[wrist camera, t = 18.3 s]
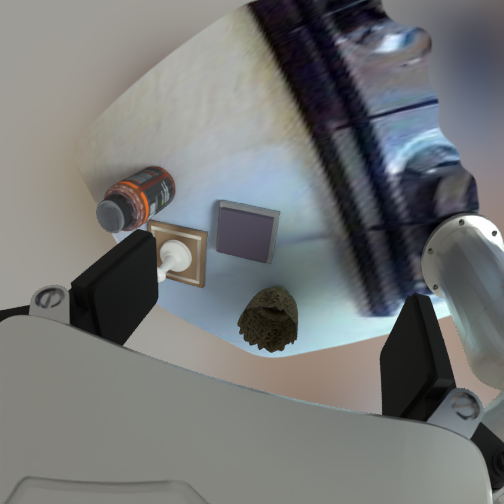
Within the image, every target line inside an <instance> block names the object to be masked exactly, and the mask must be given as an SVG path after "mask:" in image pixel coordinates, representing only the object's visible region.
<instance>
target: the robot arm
mask: <svg viewBox="0 0 504 504" xmlns="http://www.w3.org/2000/svg"><path fill="white" fill-rule="evenodd" d="M459 220H461V221H459ZM430 248H431V249H430ZM429 249H430V250H429ZM421 269H422V274H423V277H424V280H425V282H426V284H427V286H428V287H429V289H430V290H431V291H432V292H433V293H435V294H436V295H437V296H439V297H441V298H443V299H445V300H446V303H447V305H448V308H449V310H450V313H451V316H452V318H453V321H454V324H455V326H456V329H457V331H458V335H459V337H460V340H461V343H462V346H463V349H464V352H465V355H466V358H467V361H468V364H469V367H470V369H471V370H472V372H473V374H474V375H475V376H476V377H477V378H478V379H479V380H480V381H481V382H483V383H484V384H486V385H488V386H490V387H493V388H495V389H499V390H502V391H501V393H500V394H499V395H498V396H497V397H496V398H495V399H493V400H492V401H491V402H490V403H489V404H487V405H486V406H485V408H483V406H482V402H481V401H480V399H479V398H478V397H477V396H476V395H475V394H474V393H473V392H472V391H470V390H468V389H465V388H457V387H456V383H455V379H454V375H453V371H452V368H451V364H450V360H449V357H448V353H447V349H446V346H445V342H444V339H443V337H442V333H441V330H440V327H439V323H438V320H437V317H436V314H435V311H434V308H433V305H432V302H431V299H430V297H429V296H426V295H421V294H417V293H414V294H413V295H412V296H408V297H407V299H406V301H405V303H404V305H403V307H402V310H401V312H400V314H399V316H398V318H397V320H396V322H395V325H394V327H393V329H392V331H391V333H390V335H389V337H388V339H387V341H386V343H385V345H384V347H383V349H382V351H381V354H380V371H381V391H382V415H379V414H372V413H366V412H360V411H355V410H349V409H343V408H338V407H332V406H327V405H322V404H316V403H312V402H307V401H303V400H298V399H294V398H289V397H285V396H281V395H277V394H272V393H268V392H264V391H261V390H257V389H253V388H249V387H245V386H241V385H238V384H234V383H231V382H227V381H224V380H221V379H217V378H214V377H210V376H207V375H204V374H201V373H198V372H194V371H191V370H188V369H185V368H182V367H179V366H176V365H173V364H170V363H167V362H164V361H162V360H159V359H156V358H153V357H150V356H147V355H145V354H142V353H140V352H137V351H134V350H132V349H129V348H126V347H124V346H123V345H124V343H125V342H126V341H127V339H128V338H129V337H130V335H131V334H132V333H133V332H134V331H135V329H136V328H137V327H138V325H139V324H140V323H141V321H142V320H143V319H144V318H145V317H146V315H147V314H148V313H149V311H150V310H151V309H152V308H153V306H154V305H155V304H156V302H157V300H158V274H157V242H156V238H155V237H153V234H152V233H151V232H148V231H144V230H140V229H137V230H135V231H134V232H133V233H131V234H130V235H129V236H127V237H126V238H125V239H124V240H122V241H121V242H120V243H119V244H117V245H116V246H115V247H114V248H112V249H111V250H110V251H109V252H107V253H106V254H105V255H104V256H102V257H101V258H100V259H99V260H98V261H96V262H95V263H94V264H93V265H91V266H90V267H89V268H88V269H87V270H86V271H84V272H83V273H82V274H81V275H80V276H78V277H77V278H76V279H75V280H74V281H73V282H71V286H72V288H71V289H70V290H69V291H68V290H67V289H66V288H64V287H63V286H59V285H50V286H45V287H43V288H41V289H40V290H38V291H36V293H34V295H33V296H32V299H31V303H30V305H27V306H22V307H17V308H11V309H6V310H0V504H504V243H503V238H502V236H501V233H500V231H499V230H498V228H497V227H496V226H495V224H494V223H493V222H492V221H491V220H489V219H488V218H486V217H485V216H483V215H480V214H477V213H460V214H457V215H454V216H452V217H450V218H448V219H446V220H445V221H443V222H442V223H441V224H440V225H438V226H437V227H436V228H435V230H434V231H433V232H432V233H431V235H430V236H429V238H428V239H427V241H426V244H425V246H424V248H423V252H422V256H421Z"/></svg>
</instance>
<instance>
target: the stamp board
mask: <svg viewBox="0 0 504 504" xmlns="http://www.w3.org/2000/svg"><path fill="white" fill-rule="evenodd" d="M148 232H151V233H152V234H153V237H155V238H156V242H157V267H158V268H159V267H160V266H161V265H162V263H163V262H162V260H161V258H160V249H161V247H162V246H163V244H164V243H165V242H166V241H168V240H177V241H180V242H182V243H183V244H185V245H186V246H187V248H188V249H189V251H190V253H191V256H192V261H191V264H190V266H189V267H188V268H187V269H185V270H184V271H181V272H176V271H172V270H168V271H167V272H166V273H165V275H166V278H167V279H171V280H175V281H178V282H182V283H186V284H189V285H193V286H197V287H200V288H203V287H204V283H205V264H206V246H207V232H205V231H201V230H196V229H192V228H187V227H182V226H178V225H173V224H169V223H164V222H160V221H155V220H149V221H148Z"/></svg>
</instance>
